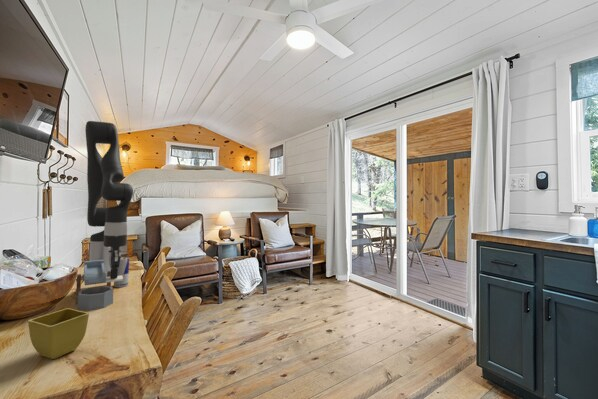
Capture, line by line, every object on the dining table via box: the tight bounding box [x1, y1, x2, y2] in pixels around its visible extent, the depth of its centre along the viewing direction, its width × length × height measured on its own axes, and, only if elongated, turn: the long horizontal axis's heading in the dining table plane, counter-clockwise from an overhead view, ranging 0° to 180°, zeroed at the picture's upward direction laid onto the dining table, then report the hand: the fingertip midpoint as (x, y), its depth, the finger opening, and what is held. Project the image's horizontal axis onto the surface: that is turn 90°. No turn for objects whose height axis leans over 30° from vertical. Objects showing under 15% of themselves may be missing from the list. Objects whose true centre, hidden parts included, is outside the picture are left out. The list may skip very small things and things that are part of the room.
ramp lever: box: [81, 260, 123, 286], centre depth 111 cm, size 14×13×5 cm
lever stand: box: [75, 271, 112, 305], centre depth 109 cm, size 17×11×9 cm, turn 39°
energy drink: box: [113, 256, 130, 288], centre depth 122 cm, size 5×5×12 cm
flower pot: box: [27, 307, 90, 360], centre depth 69 cm, size 9×9×9 cm
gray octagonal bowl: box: [77, 285, 114, 311], centre depth 100 cm, size 10×10×5 cm
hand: (113, 278), depth 109 cm, fingers closed
